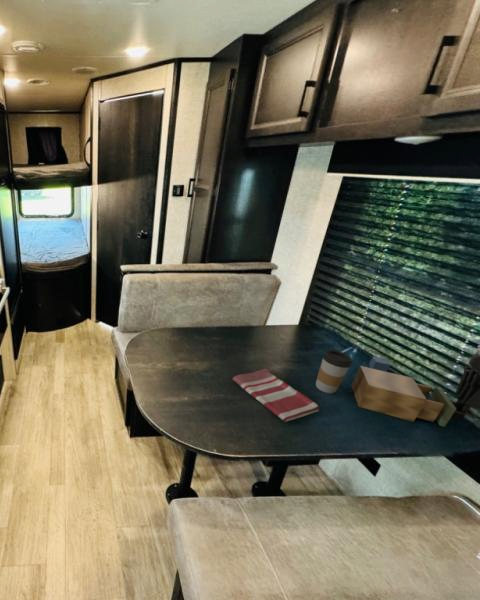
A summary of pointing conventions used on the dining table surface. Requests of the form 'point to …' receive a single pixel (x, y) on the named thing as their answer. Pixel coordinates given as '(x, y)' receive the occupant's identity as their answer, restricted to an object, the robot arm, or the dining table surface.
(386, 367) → the block
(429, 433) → the dining table surface
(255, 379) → the dish towel
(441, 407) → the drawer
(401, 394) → the cabinet
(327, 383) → the coffee cup
